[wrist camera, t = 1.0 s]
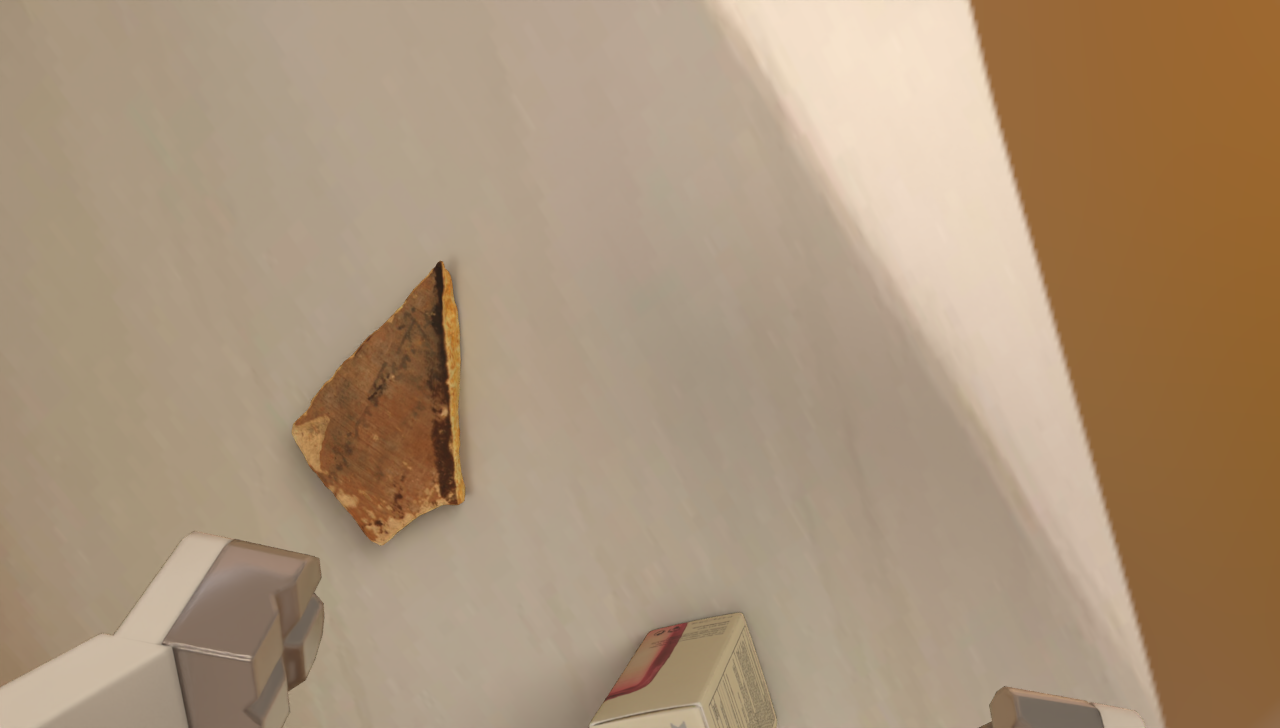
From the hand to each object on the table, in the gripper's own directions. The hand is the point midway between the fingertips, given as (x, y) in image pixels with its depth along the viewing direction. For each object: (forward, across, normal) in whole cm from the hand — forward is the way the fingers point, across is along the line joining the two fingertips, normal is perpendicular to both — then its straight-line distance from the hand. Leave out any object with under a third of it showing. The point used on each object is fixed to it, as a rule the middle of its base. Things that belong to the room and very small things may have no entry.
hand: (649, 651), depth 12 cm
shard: (+26, +12, +18) cm, 34 cm away
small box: (+19, -4, +24) cm, 31 cm away
